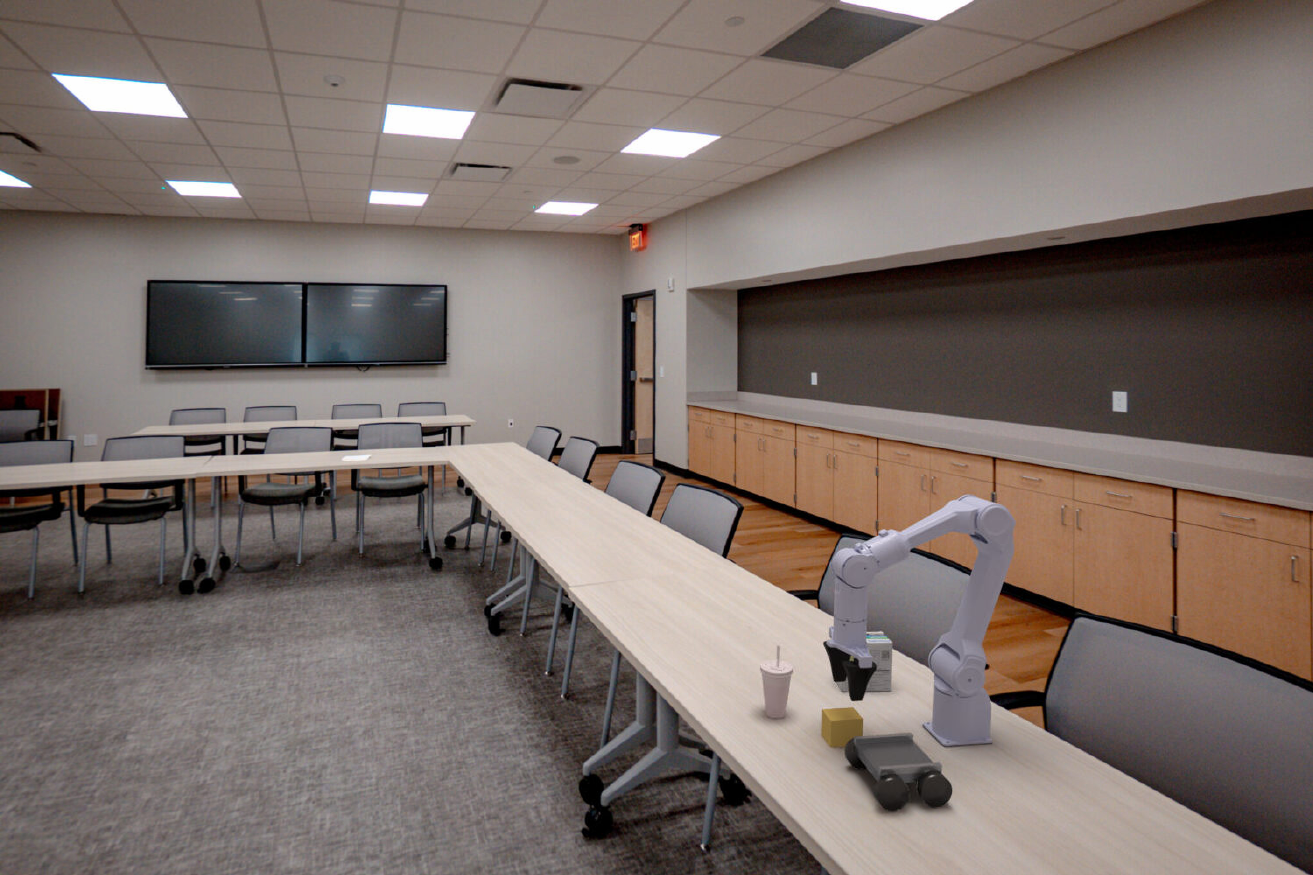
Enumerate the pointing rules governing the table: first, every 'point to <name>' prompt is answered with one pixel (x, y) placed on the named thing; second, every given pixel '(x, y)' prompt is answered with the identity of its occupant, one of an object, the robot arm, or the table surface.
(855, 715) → the yellow block
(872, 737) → the trolley
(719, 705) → the table surface
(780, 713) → the smoothie
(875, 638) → the light bulb box
